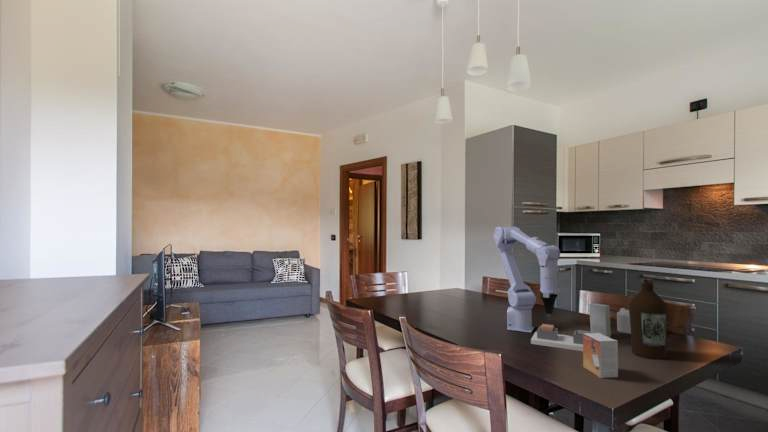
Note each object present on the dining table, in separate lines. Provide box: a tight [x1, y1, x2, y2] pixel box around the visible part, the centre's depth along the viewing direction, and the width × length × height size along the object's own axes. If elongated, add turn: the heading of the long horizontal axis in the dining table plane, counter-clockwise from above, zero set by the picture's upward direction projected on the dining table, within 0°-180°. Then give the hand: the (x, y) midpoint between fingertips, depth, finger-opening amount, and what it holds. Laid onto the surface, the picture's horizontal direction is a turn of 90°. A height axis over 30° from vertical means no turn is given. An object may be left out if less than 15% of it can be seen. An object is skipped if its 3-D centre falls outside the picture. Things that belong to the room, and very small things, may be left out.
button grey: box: [577, 329, 591, 335], centre depth 134 cm, size 4×4×4 cm
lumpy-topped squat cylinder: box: [616, 307, 631, 335], centre depth 153 cm, size 10×13×9 cm
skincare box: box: [588, 302, 612, 338], centre depth 146 cm, size 6×4×12 cm
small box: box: [582, 333, 619, 379], centre depth 110 cm, size 8×6×10 cm
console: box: [530, 325, 593, 352], centre depth 137 cm, size 22×12×4 cm, turn 60°
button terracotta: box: [540, 323, 555, 332], centre depth 140 cm, size 4×4×4 cm
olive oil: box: [628, 278, 668, 360], centre depth 125 cm, size 11×11×25 cm
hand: (549, 313), depth 141 cm, fingers closed
